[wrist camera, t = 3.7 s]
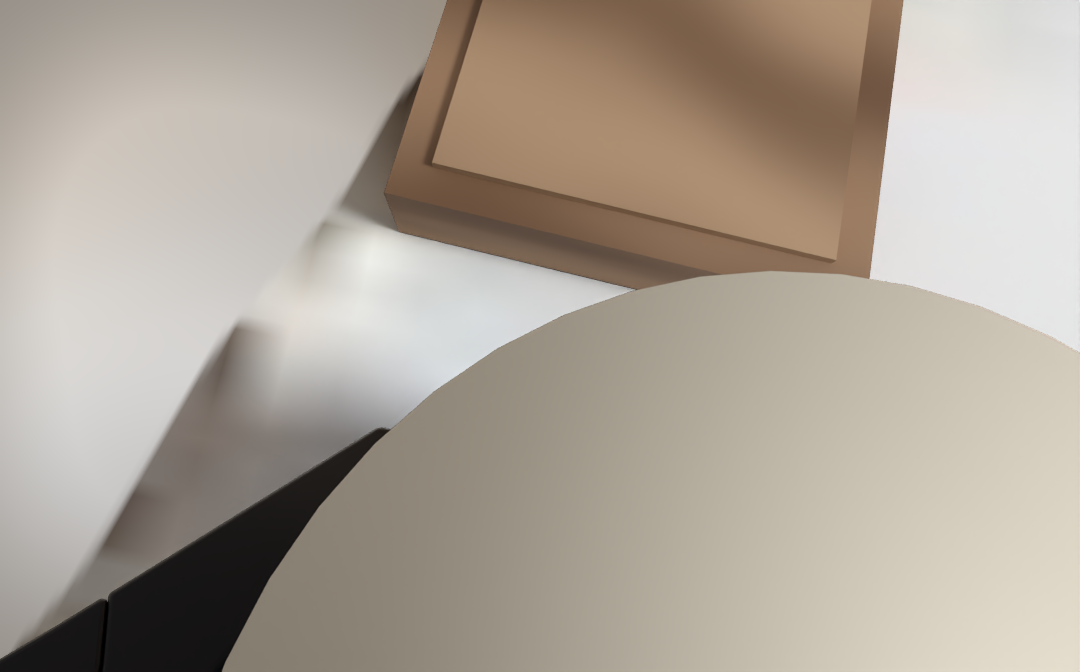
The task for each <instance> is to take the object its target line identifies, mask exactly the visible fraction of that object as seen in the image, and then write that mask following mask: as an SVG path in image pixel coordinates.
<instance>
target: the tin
mask: <svg viewBox="0 0 1080 672" xmlns="http://www.w3.org/2000/svg"><path fill="white" fill-rule="evenodd" d="M222 672H1080V353H1079V352H1078V351H1076V350H1074V349H1072V348H1070V347H1069V346H1067V345H1065V344H1063V343H1062V342H1060V341H1058V340H1056V339H1055V338H1053V337H1051V336H1049V335H1047V334H1044V333H1042V332H1039V331H1037V330H1035V329H1032V328H1030V327H1028V326H1025V325H1023V324H1021V323H1018V322H1016V321H1014V320H1011V319H1009V318H1007V317H1004V316H1002V315H1000V314H997V313H995V312H993V311H990V310H988V309H985V308H983V307H980V306H977V305H974V304H970V303H967V302H964V301H960V300H957V299H953V298H950V297H947V296H943V295H940V294H937V293H933V292H930V291H926V290H923V289H920V288H916V287H913V286H908V285H902V284H896V283H890V282H884V281H879V280H873V279H867V278H861V277H855V276H849V275H843V274H827V273H805V272H783V271H764V272H751V273H739V274H727V275H714V276H702V277H696V278H692V279H687V280H682V281H677V282H673V283H668V284H663V285H659V286H654V287H649V288H644V289H640V290H635V291H631V292H628V293H625V294H622V295H619V296H616V297H614V298H611V299H608V300H605V301H602V302H599V303H597V304H594V305H591V306H588V307H585V308H582V309H579V310H577V311H574V312H571V313H568V314H565V315H563V316H561V317H559V318H557V319H555V320H553V321H551V322H549V323H547V324H545V325H543V326H541V327H539V328H537V329H535V330H533V331H531V332H529V333H527V334H525V335H523V336H521V337H519V338H517V339H515V340H513V341H511V342H509V343H507V344H505V345H503V346H501V347H499V348H497V349H496V350H494V351H493V352H492V353H490V354H489V355H487V356H486V357H484V358H483V359H481V360H480V361H478V362H477V363H475V364H474V365H472V366H471V367H469V368H468V369H466V370H465V371H464V372H462V373H461V374H459V375H458V376H456V377H455V378H453V379H452V380H450V381H449V382H447V383H446V384H444V385H443V386H441V387H440V388H438V389H437V390H436V391H434V392H433V393H432V394H431V395H430V396H428V397H427V398H426V399H425V400H424V401H423V402H422V403H421V404H419V405H418V406H417V407H416V408H415V409H414V410H413V411H411V412H410V413H409V414H408V415H407V416H406V417H405V418H404V419H402V420H401V421H400V422H399V423H398V424H397V425H396V426H394V427H393V428H392V429H391V430H390V431H389V432H388V433H387V434H385V435H384V436H383V437H382V438H381V439H380V440H379V441H377V442H376V443H375V444H374V445H373V446H372V448H371V449H370V450H369V451H368V452H367V453H366V454H365V455H364V457H363V458H362V459H361V460H360V461H359V462H358V463H357V464H356V466H355V467H354V468H353V469H352V470H351V471H350V472H349V474H348V475H347V476H346V477H345V478H344V479H343V480H342V481H341V483H340V484H339V485H338V486H337V487H336V488H335V489H334V490H333V492H332V493H331V494H330V495H329V496H328V497H327V498H326V500H325V501H324V502H323V503H322V504H321V505H320V506H319V508H318V509H317V511H316V512H315V513H314V515H313V516H312V518H311V519H310V521H309V522H308V524H307V525H306V527H305V528H304V529H303V531H302V532H301V534H300V535H299V537H298V538H297V540H296V541H295V542H294V544H293V545H292V547H291V548H290V550H289V551H288V553H287V554H286V556H285V557H284V558H283V560H282V561H281V563H280V564H279V566H278V567H277V569H276V570H275V572H274V573H273V574H272V576H271V577H270V579H269V581H268V582H267V584H266V586H265V588H264V590H263V592H262V594H261V596H260V598H259V599H258V601H257V603H256V605H255V607H254V609H253V611H252V613H251V615H250V617H249V618H248V620H247V622H246V624H245V626H244V628H243V630H242V632H241V634H240V635H239V637H238V639H237V641H236V643H235V645H234V647H233V649H232V651H231V653H230V654H229V656H228V658H227V660H226V662H225V665H224V667H223V670H222Z"/></svg>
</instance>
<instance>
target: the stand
mask: <svg viewBox="0 0 1080 672" xmlns="http://www.w3.org/2000/svg"><path fill="white" fill-rule="evenodd" d="M902 7H903V0H447V3H446V6H445V9H444V12H443V15H442V18H441V21H440V24H439V27H438V30H437V33H436V36H435V39H434V42H433V45H432V48H431V51H430V54H429V57H428V60H427V63H426V67H425V70H424V73H423V76H422V79H421V82H420V85H419V88H418V91H417V94H416V97H415V100H414V103H413V106H412V109H411V112H410V115H409V118H408V121H407V124H406V127H405V130H404V133H403V136H402V140H401V143H400V146H399V149H398V152H397V155H396V158H395V161H394V164H393V167H392V170H391V173H390V176H389V179H388V182H387V185H386V188H385V191H384V194H385V196H386V199H387V202H388V204H389V207H390V209H391V212H392V215H393V217H394V220H395V222H396V225H397V228H398V230H399V232H402V233H407V234H411V235H415V236H419V237H423V238H427V239H431V240H435V241H440V242H444V243H448V244H452V245H456V246H460V247H464V248H468V249H472V250H477V251H481V252H485V253H489V254H493V255H497V256H501V257H505V258H509V259H514V260H518V261H522V262H526V263H530V264H534V265H538V266H542V267H546V268H551V269H555V270H559V271H563V272H567V273H571V274H575V275H579V276H584V277H588V278H592V279H596V280H600V281H604V282H608V283H612V284H616V285H621V286H625V287H629V288H633V289H637V290H640V289H644V288H649V287H654V286H659V285H663V284H668V283H673V282H677V281H682V280H687V279H692V278H696V277H702V276H714V275H727V274H739V273H751V272H764V271H783V272H805V273H827V274H843V275H849V276H855V277H861V278H867V279H869V277H870V269H871V261H872V253H873V245H874V236H875V228H876V220H877V212H878V204H879V195H880V187H881V179H882V171H883V163H884V155H885V146H886V138H887V130H888V122H889V114H890V105H891V97H892V89H893V81H894V73H895V65H896V56H897V48H898V40H899V32H900V24H901V16H902Z"/></svg>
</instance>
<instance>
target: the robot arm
mask: <svg viewBox="0 0 1080 672" xmlns="http://www.w3.org/2000/svg"><path fill="white" fill-rule="evenodd" d="M390 430H391V429H388V428H383V427H381V428H377V429H375V430H373V431H372V432H370V433H368V434H367V435H365V436H364V437H362V438H360V439H359V440H357V441H356V442H354V443H352V444H351V445H349V446H347V447H346V448H344V449H343V450H341V451H339V452H338V453H336V454H334V455H333V456H331V457H330V458H328V459H326V460H325V461H323V462H322V463H320V464H318V465H317V466H315V467H313V468H312V469H310V470H309V471H307V472H305V473H304V474H302V475H301V476H299V477H297V478H296V479H294V480H292V481H291V482H289V483H288V484H286V485H284V486H283V487H281V488H279V489H278V490H276V491H275V492H273V493H271V494H270V495H268V496H267V497H265V498H263V499H262V500H260V501H258V502H257V503H255V504H254V505H252V506H250V507H249V508H247V509H245V510H244V511H242V512H241V513H239V514H237V515H236V516H234V517H233V518H231V519H229V520H228V521H226V522H224V523H223V524H221V525H220V526H218V527H216V528H215V529H213V530H212V531H210V532H208V533H207V534H205V535H203V536H202V537H200V538H199V539H197V540H195V541H194V542H192V543H190V544H189V545H187V546H186V547H184V548H182V549H181V550H179V551H178V552H176V553H174V554H173V555H171V556H169V557H168V558H166V559H165V560H163V561H161V562H160V563H158V564H156V565H155V566H153V567H152V568H150V569H148V570H147V571H145V572H144V573H142V574H140V575H139V576H137V577H135V578H134V579H132V580H131V581H129V582H127V583H126V584H124V585H123V586H121V587H119V588H118V589H116V590H114V591H113V592H111V593H110V594H109V596H108V602H107V600H105V599H99V600H98V601H96V602H94V603H93V604H91V605H90V606H88V607H86V608H85V609H83V610H81V611H80V612H78V613H77V614H75V615H73V616H72V617H70V618H69V619H67V620H65V621H64V622H62V623H60V624H59V625H57V626H55V627H54V628H52V629H50V630H49V631H47V632H45V633H43V634H42V635H40V636H38V637H37V638H35V639H33V640H32V641H30V642H28V643H26V644H25V645H23V646H21V647H20V648H18V649H16V650H15V651H13V652H11V653H10V654H8V655H6V656H4V657H3V658H1V659H0V672H222V670H223V667H224V665H225V662H226V660H227V658H228V656H229V654H230V653H231V651H232V649H233V647H234V645H235V643H236V641H237V639H238V637H239V635H240V634H241V632H242V630H243V628H244V626H245V624H246V622H247V620H248V618H249V617H250V615H251V613H252V611H253V609H254V607H255V605H256V603H257V601H258V599H259V598H260V596H261V594H262V592H263V590H264V588H265V586H266V584H267V582H268V581H269V579H270V577H271V576H272V574H273V573H274V572H275V570H276V569H277V567H278V566H279V564H280V563H281V561H282V560H283V558H284V557H285V556H286V554H287V553H288V551H289V550H290V548H291V547H292V545H293V544H294V542H295V541H296V540H297V538H298V537H299V535H300V534H301V532H302V531H303V529H304V528H305V527H306V525H307V524H308V522H309V521H310V519H311V518H312V516H313V515H314V513H315V512H316V511H317V509H318V508H319V506H320V505H321V504H322V503H323V502H324V501H325V500H326V498H327V497H328V496H329V495H330V494H331V493H332V492H333V490H334V489H335V488H336V487H337V486H338V485H339V484H340V483H341V481H342V480H343V479H344V478H345V477H346V476H347V475H348V474H349V472H350V471H351V470H352V469H353V468H354V467H355V466H356V464H357V463H358V462H359V461H360V460H361V459H362V458H363V457H364V455H365V454H366V453H367V452H368V451H369V450H370V449H371V448H372V446H373V445H374V444H375V443H376V442H377V441H379V440H380V439H381V438H382V437H383V436H384V435H385V434H387V433H388V432H389V431H390Z"/></svg>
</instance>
